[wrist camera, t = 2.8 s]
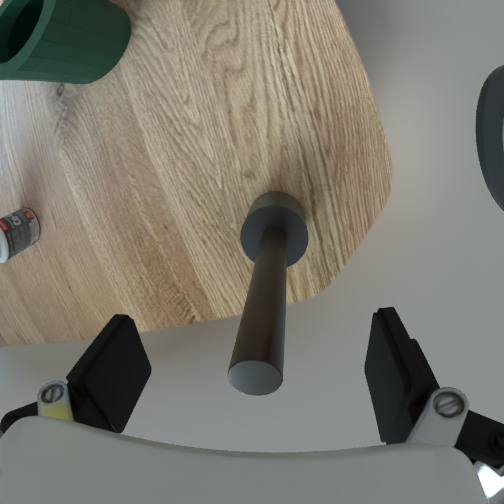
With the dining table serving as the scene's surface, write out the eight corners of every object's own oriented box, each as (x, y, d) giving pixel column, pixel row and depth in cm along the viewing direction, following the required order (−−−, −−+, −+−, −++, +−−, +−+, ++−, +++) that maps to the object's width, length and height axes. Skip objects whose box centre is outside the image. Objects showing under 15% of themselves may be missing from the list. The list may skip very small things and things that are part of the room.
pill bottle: (38, 208, 28) (-12, 232, 20) (43, 245, 30) (-3, 275, 22) (16, 206, 28) (-31, 228, 21) (21, 240, 30) (-22, 267, 22)
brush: (303, 189, 24) (333, 317, 8) (305, 243, 26) (324, 418, 10) (246, 193, 25) (167, 319, 8) (251, 246, 27) (199, 415, 10)
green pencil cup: (130, -8, 18) (64, -48, 8) (132, 67, 21) (52, 46, 11) (61, 25, 19) (-10, 9, 9) (61, 95, 23) (-19, 97, 12)
